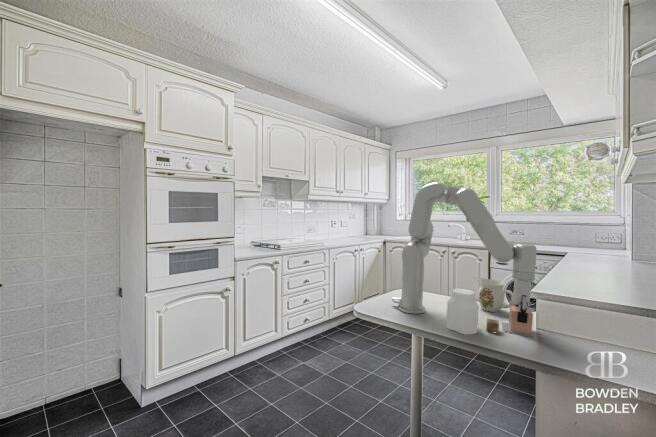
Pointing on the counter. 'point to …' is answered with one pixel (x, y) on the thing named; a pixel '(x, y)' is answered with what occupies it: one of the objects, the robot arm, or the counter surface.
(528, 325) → the salmon pink block
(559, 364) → the counter surface
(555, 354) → the counter surface
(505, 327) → the mat
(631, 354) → the counter surface
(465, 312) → the jar
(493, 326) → the block
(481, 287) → the pitcher
